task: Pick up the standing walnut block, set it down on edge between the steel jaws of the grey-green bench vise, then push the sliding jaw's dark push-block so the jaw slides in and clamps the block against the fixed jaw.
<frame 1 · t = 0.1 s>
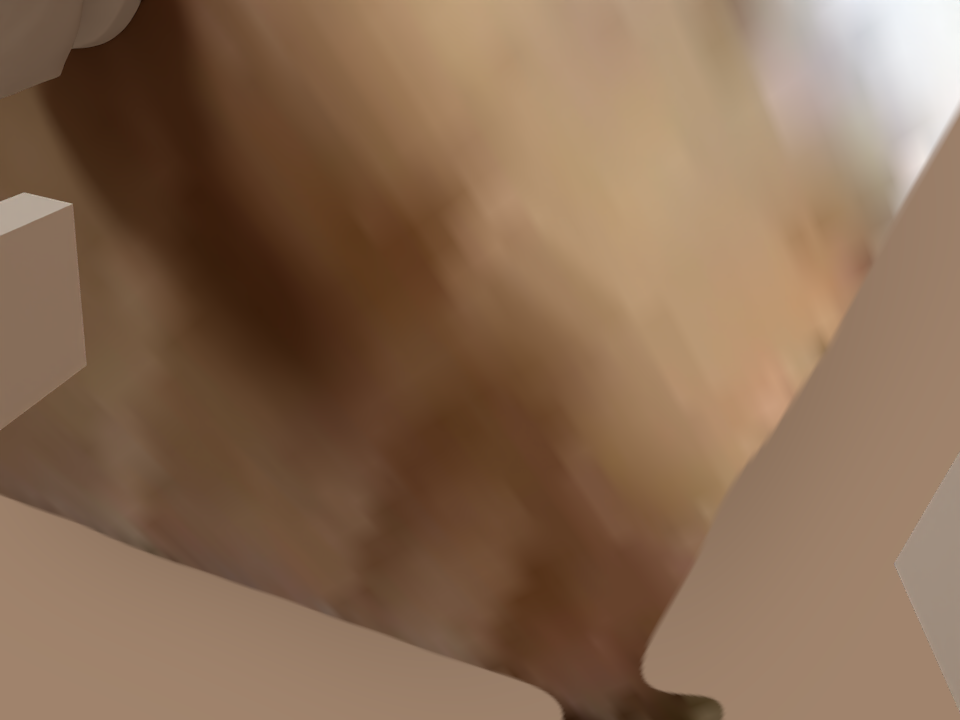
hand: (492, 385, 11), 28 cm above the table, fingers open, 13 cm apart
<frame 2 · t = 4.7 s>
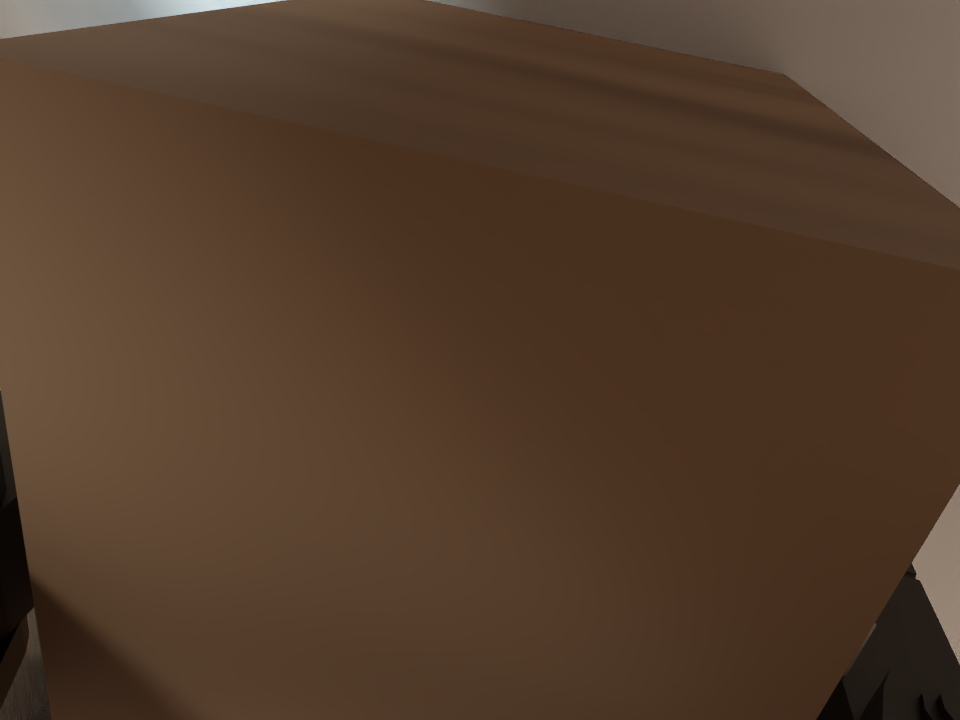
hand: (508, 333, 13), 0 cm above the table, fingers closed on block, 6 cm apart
block: (513, 311, 13), on the table, touching gripper
when the fingers open (2 cm above the table, at t = 10.8 s): block stays where it is, resting on vise.
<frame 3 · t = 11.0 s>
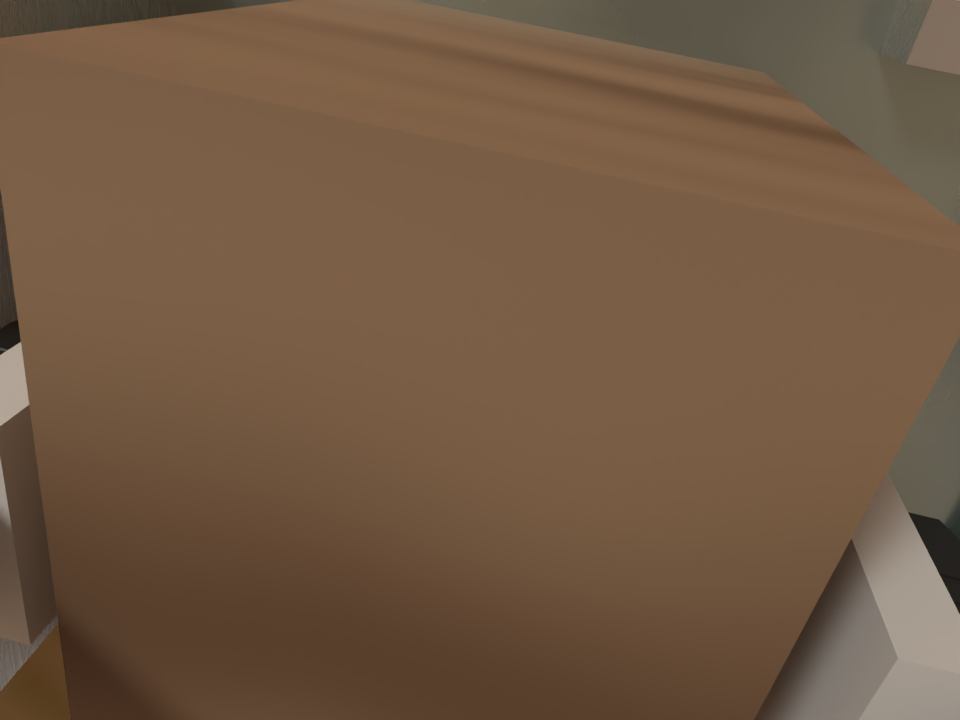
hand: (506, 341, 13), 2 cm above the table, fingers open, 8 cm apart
vise: (586, 302, 15), on the table
block: (506, 303, 14), point 1 cm above the table, touching vise
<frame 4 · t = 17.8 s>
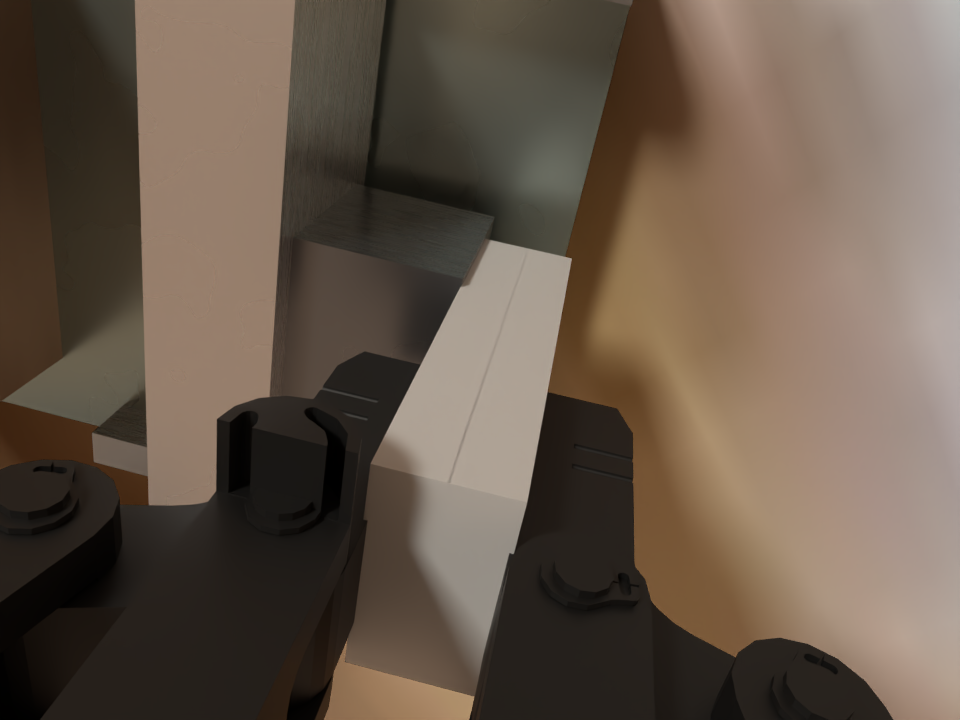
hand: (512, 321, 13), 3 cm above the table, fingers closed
vise: (14, 141, 17), on the table
slide jaw: (334, 296, 13), point 3 cm above the table, slide at 1.4 cm, touching gripper
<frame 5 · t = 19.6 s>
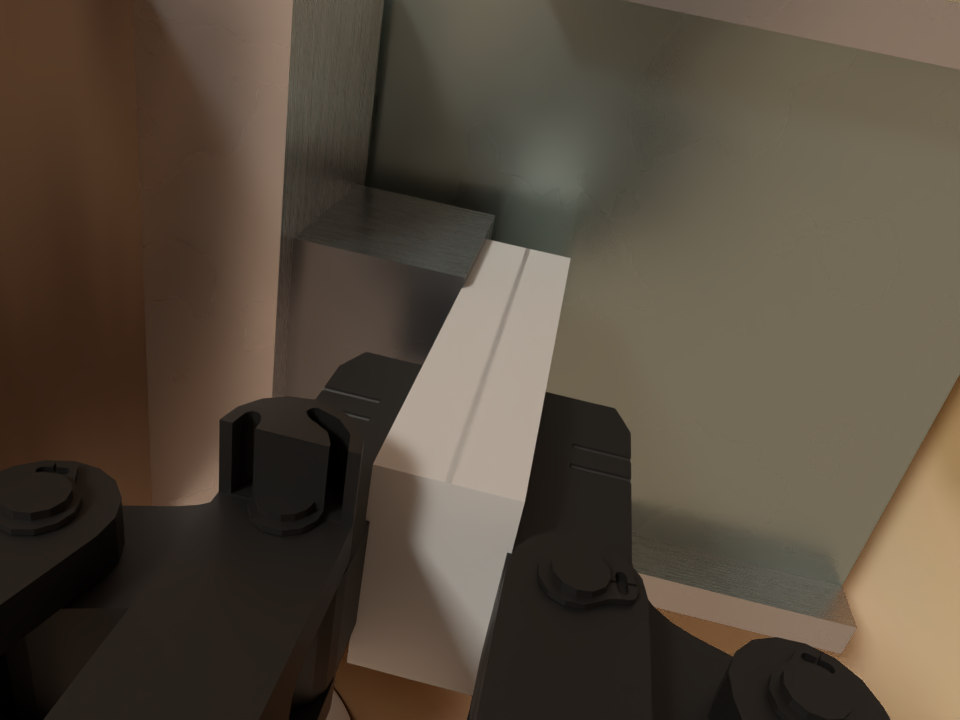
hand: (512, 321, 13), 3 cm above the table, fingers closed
vise: (352, 223, 16), on the table
slide jaw: (335, 296, 13), point 4 cm above the table, slide at 8.9 cm, touching block, gripper
figurine: (216, 709, 25), on the table
block: (118, 184, 15), point 1 cm above the table, touching slide jaw, vise
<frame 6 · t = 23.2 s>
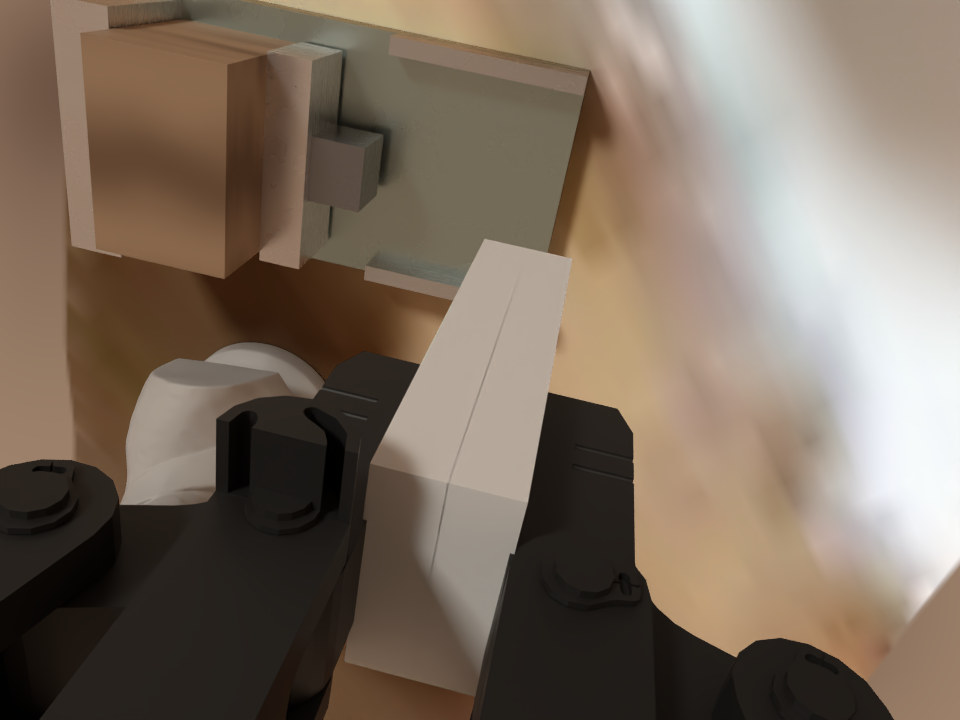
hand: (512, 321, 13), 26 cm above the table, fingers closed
vise: (333, 143, 40), on the table
slide jaw: (325, 162, 36), point 3 cm above the table, slide at 8.9 cm, touching block
figurine: (268, 407, 48), on the table
block: (241, 126, 39), point 1 cm above the table, touching slide jaw, vise
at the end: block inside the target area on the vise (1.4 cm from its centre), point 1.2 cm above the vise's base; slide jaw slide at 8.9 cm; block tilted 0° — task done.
